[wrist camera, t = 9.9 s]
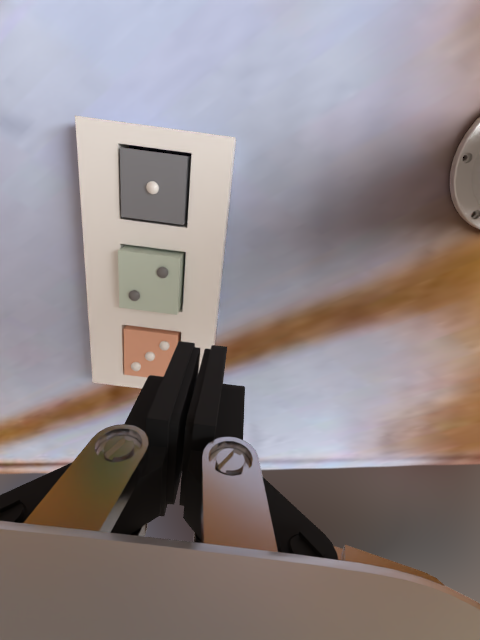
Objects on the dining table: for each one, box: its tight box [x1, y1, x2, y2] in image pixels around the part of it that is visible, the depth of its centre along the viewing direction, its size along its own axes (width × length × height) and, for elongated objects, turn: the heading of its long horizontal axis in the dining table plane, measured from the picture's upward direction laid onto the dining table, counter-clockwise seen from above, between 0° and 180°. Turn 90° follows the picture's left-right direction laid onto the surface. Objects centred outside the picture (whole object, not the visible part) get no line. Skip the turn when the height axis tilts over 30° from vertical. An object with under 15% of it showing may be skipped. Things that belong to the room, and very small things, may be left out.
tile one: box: [120, 147, 191, 225], centre depth 33 cm, size 6×6×3 cm
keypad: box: [75, 116, 236, 389], centre depth 37 cm, size 14×28×3 cm, turn 173°
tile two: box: [118, 245, 185, 315], centre depth 36 cm, size 6×6×3 cm
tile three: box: [123, 325, 181, 377], centre depth 40 cm, size 6×6×3 cm
